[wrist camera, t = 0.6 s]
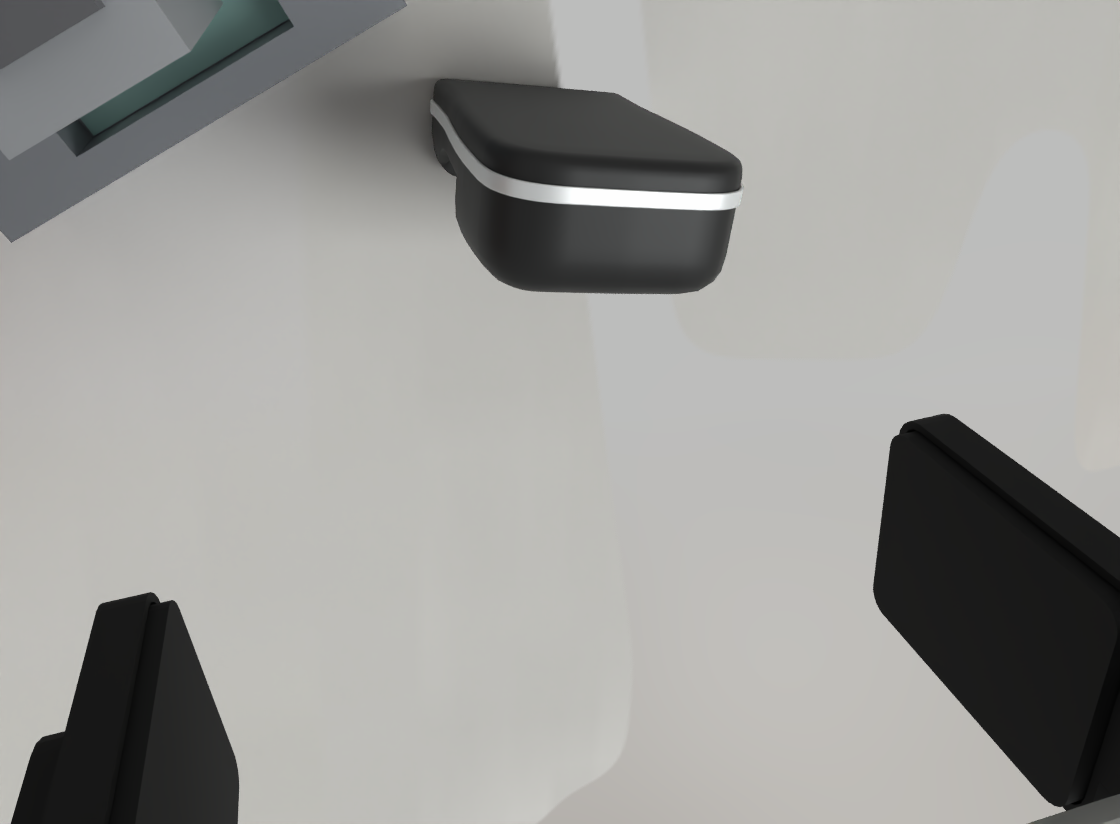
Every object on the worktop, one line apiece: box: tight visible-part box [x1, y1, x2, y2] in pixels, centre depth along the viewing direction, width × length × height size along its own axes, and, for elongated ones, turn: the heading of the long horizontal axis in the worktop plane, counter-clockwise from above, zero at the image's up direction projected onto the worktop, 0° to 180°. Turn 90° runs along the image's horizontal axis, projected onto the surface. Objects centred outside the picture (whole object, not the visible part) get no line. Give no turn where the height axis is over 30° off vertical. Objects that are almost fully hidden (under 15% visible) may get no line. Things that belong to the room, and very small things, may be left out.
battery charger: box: [430, 79, 744, 294], centre depth 27 cm, size 7×4×11 cm, turn 83°
